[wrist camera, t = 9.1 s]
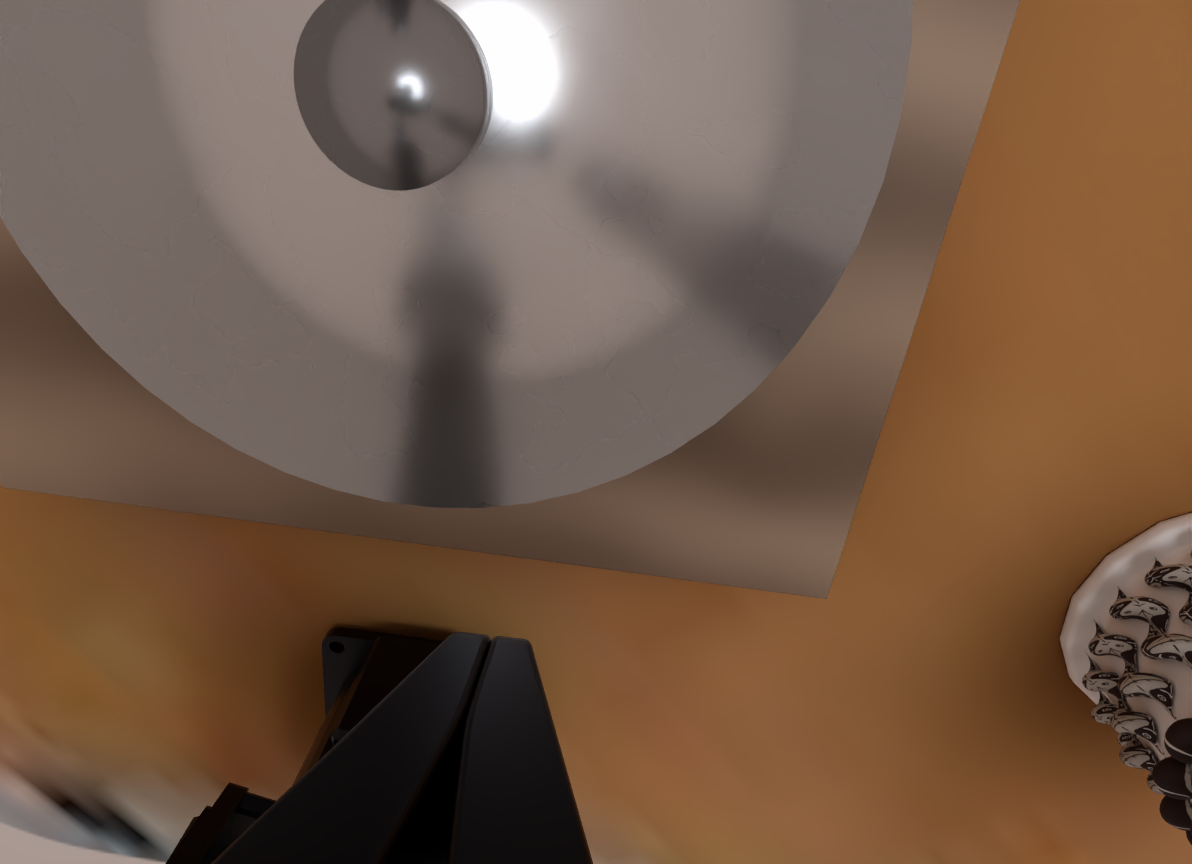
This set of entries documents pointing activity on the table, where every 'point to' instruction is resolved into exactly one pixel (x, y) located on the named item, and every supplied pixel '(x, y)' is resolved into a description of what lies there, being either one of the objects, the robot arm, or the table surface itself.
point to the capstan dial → (447, 217)
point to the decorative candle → (1141, 657)
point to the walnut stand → (613, 509)
